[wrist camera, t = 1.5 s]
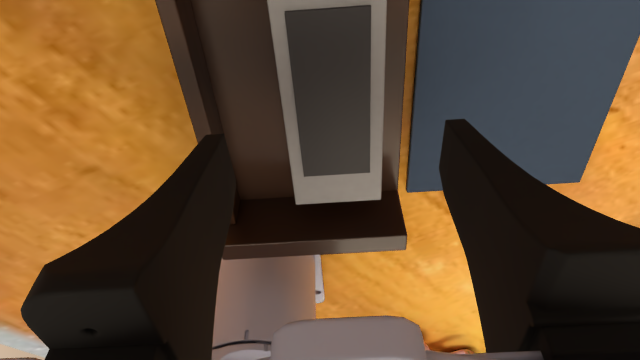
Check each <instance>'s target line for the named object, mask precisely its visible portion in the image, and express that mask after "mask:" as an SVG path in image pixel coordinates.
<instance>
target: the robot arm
mask: <svg viewBox="0 0 640 360" xmlns="http://www.w3.org/2000/svg"><path fill="white" fill-rule="evenodd" d="M439 173H440V178H441V183H442V187H443V192H444V196H445V199H446V201H447V204H448V207H449V210H450V213H451V215H452V218H453V221H454V224H455V226H456V229H457V232H458V235H459V237H460V240H461V243H462V246H463V248H464V252H465V255H466V258H467V262H468V266H469V270H470V274H471V279H472V283H473V287H474V292H475V297H476V301H477V306H478V310H479V315H480V321H481V326H482V331H483V336H484V341H485V347H486V353H476V354H454V353H447V352H440V351H433V350H425V346H424V340H423V335H422V332H421V330H420V327H419V325H417V324H415V323H413V322H411V321H410V320H408V319H406V318H404V317H395V316H368V317H347V318H326V319H316V303H321V302H323V301H324V300H325V295H324V285H323V275H322V266H321V256H320V255H306V256H288V257H270V258H253V259H235V260H223V259H222V256H223V252H224V247H225V243H226V239H227V234H228V230H229V226H230V221H231V217H232V212H233V208H234V199H235V188H236V178H235V174H234V170H233V166H232V163H231V159H230V155H229V151H228V147H227V143H226V139H225V135H224V134H210V135H205V136H204V138H203V139H202V140H201V141H200V142H199V143H198V145H197V146H196V147H195V148H194V149H193V151H192V152H191V153H190V154H189V155H188V157H187V158H186V159H185V160H184V161H183V163H182V164H181V165H180V166H179V167H178V168H177V170H176V171H175V172H174V173H173V174H172V175H171V176H170V177H169V178H168V179H167V180H166V181H165V182H164V184H163V185H162V186H161V187H160V188H159V189H158V190H157V191H156V192H155V193H154V194H153V195H151V196H150V197H149V198H148V199H147V200H146V201H145V202H144V203H142V204H141V205H140V206H139V207H138V208H137V209H135V210H134V211H133V212H132V213H130V214H129V215H128V216H126V217H125V218H123V219H122V220H121V221H119V222H118V223H117V224H115V225H114V226H112V227H111V228H110V229H108V230H107V231H105V232H104V233H102V234H100V235H99V236H97V237H96V238H94V239H92V240H91V241H89V242H87V243H86V244H84V245H82V246H81V247H79V248H77V249H75V250H73V251H71V252H69V253H67V254H66V255H64V256H62V257H60V258H58V259H56V260H54V261H52V262H50V263H48V264H46V265H44V267H43V268H42V270H41V272H40V274H39V275H38V277H37V279H36V281H35V282H34V284H33V286H32V288H31V290H30V292H29V294H28V296H27V297H26V299H25V301H24V303H23V305H22V308H21V314H22V318H23V319H24V321H25V322H26V324H27V325H28V327H29V328H30V329H31V330H32V331H33V332H34V333H35V334H36V335H37V336H38V337H39V338H40V339H41V340H42V341H43V343H44V344H45V345H46V346H47V347H48V348H49V351H48V354H47V356H46V358H45V360H640V228H637V227H635V226H632V225H629V224H626V223H623V222H621V221H618V220H615V219H613V218H610V217H608V216H606V215H603V214H601V213H599V212H596V211H594V210H592V209H590V208H588V207H586V206H583V205H581V204H579V203H577V202H575V201H574V200H572V199H570V198H568V197H566V196H564V195H562V194H560V193H559V192H557V191H555V190H553V189H552V188H550V187H549V186H547V185H545V184H544V183H542V182H541V181H539V180H538V179H536V178H534V177H533V176H532V175H530V174H529V173H527V172H526V171H525V170H523V169H522V168H521V167H519V166H518V165H517V164H515V163H514V162H513V161H511V160H510V159H509V158H508V157H507V156H505V155H504V154H503V153H502V152H501V151H499V150H498V149H497V148H496V147H495V146H494V145H493V144H491V143H490V142H489V141H488V140H487V139H486V138H485V137H484V136H483V135H482V134H481V133H480V132H478V131H477V130H476V129H475V128H474V127H473V126H472V125H471V124H470V123H469V122H468V121H467V120H466V119H451V120H445V127H444V134H443V141H442V148H441V155H440V162H439ZM0 360H40V359H37V358H29V357H27V358H5V359H0Z"/></svg>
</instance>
